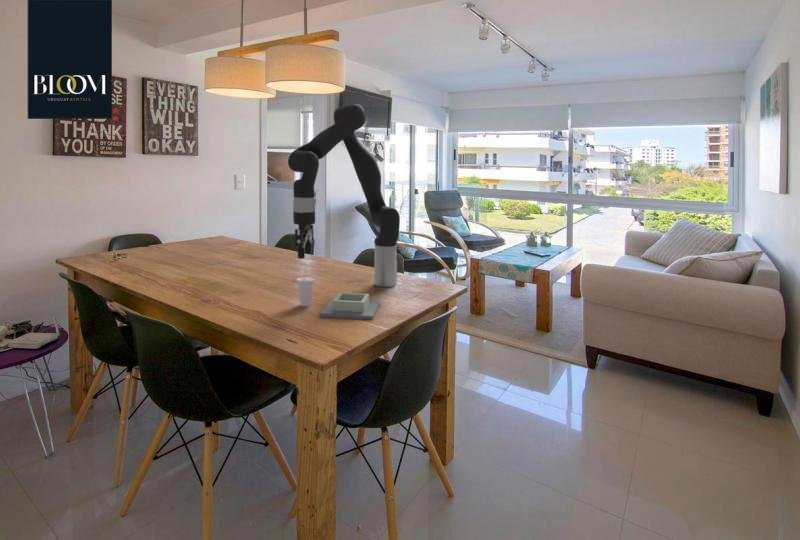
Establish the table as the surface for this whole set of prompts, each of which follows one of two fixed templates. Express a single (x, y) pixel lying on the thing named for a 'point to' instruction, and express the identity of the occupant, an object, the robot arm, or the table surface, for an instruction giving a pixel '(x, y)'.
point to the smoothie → (305, 289)
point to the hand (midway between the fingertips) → (304, 256)
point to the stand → (351, 306)
